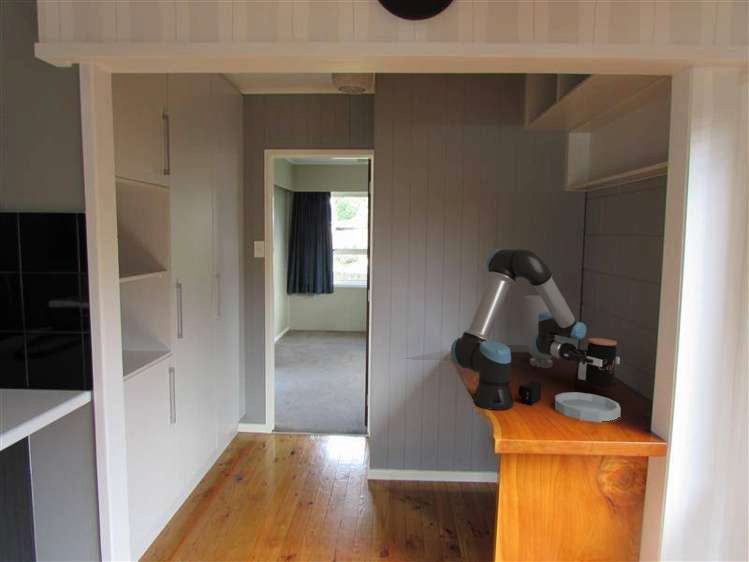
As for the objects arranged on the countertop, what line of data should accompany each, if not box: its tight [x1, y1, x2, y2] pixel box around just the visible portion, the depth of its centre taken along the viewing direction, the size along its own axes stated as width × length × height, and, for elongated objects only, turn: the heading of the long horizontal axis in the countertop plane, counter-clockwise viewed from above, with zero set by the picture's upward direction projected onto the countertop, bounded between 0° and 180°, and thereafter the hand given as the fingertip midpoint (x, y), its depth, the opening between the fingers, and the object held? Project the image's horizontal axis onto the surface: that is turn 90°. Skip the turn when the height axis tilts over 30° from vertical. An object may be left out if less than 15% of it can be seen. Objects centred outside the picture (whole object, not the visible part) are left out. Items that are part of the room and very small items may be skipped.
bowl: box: [554, 391, 622, 423], centre depth 176 cm, size 22×22×4 cm
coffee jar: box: [585, 337, 618, 388], centre depth 192 cm, size 11×11×18 cm
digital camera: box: [517, 380, 542, 407], centre depth 185 cm, size 10×5×7 cm, turn 141°
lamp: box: [522, 294, 566, 369], centre depth 241 cm, size 20×20×35 cm
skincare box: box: [577, 362, 587, 381], centre depth 219 cm, size 6×6×7 cm
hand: (610, 362), depth 188 cm, fingers closed on coffee jar, 11 cm apart
